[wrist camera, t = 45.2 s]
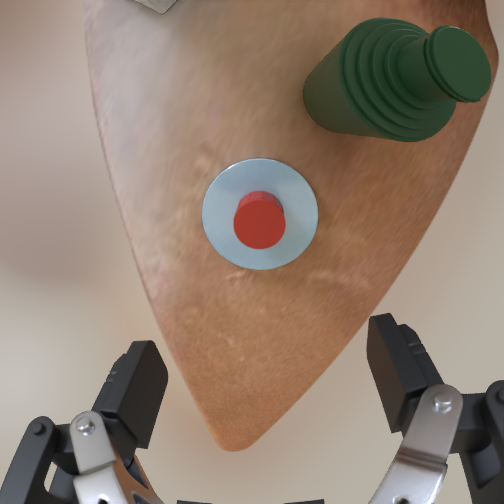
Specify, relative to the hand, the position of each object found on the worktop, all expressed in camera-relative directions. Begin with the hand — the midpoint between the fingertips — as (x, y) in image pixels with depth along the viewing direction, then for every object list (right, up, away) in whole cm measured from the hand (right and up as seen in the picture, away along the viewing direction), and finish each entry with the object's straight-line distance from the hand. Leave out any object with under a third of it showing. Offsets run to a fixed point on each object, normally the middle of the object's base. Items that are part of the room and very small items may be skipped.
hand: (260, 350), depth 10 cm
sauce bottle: (+7, +16, +11) cm, 21 cm away
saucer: (0, +7, +16) cm, 17 cm away
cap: (0, +7, +15) cm, 16 cm away
